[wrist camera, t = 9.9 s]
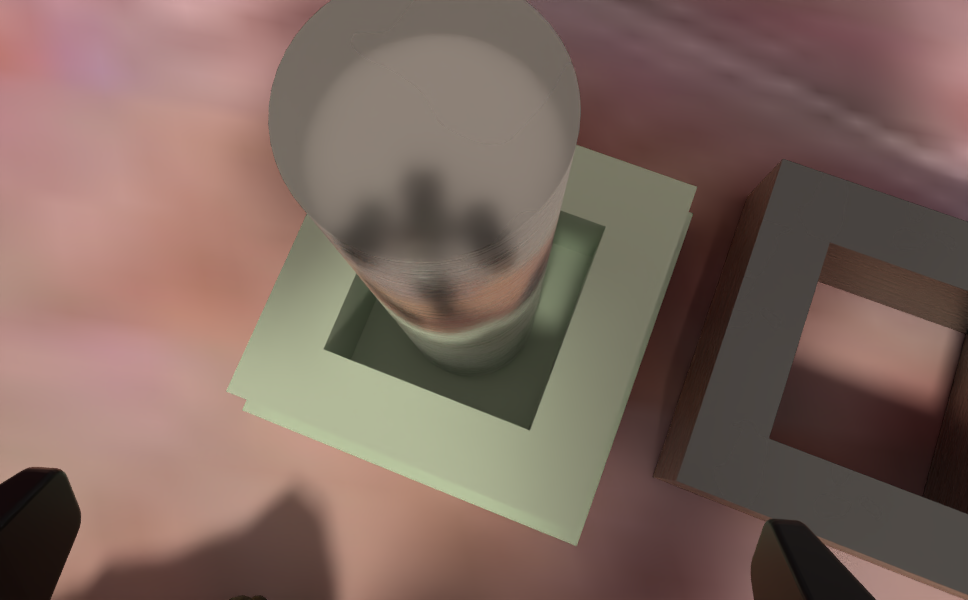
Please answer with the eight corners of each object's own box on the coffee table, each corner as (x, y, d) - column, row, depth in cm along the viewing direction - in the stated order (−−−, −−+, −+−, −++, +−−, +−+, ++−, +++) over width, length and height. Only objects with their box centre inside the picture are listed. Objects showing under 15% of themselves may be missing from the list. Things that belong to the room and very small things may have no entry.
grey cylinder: (540, 369, 21) (600, 241, 8) (413, 382, 21) (275, 276, 8) (526, 246, 22) (560, -47, 9) (403, 259, 22) (262, -15, 9)
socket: (966, 600, 20) (1044, 625, 17) (652, 477, 21) (676, 480, 18) (1042, 299, 22) (1125, 275, 19) (747, 196, 23) (782, 158, 20)
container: (573, 541, 21) (588, 562, 17) (254, 412, 22) (199, 403, 18) (685, 223, 23) (722, 176, 19) (385, 117, 24) (360, 50, 20)
